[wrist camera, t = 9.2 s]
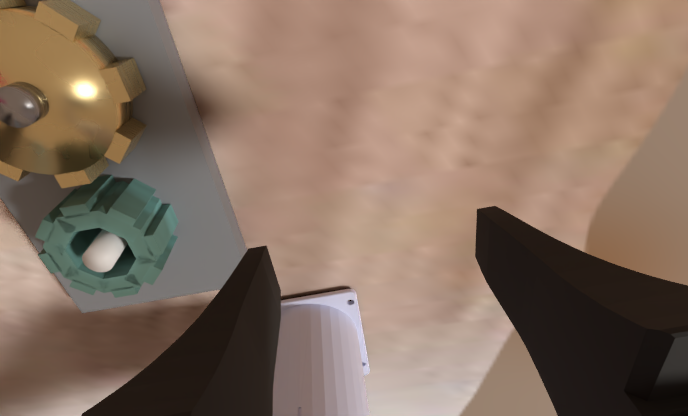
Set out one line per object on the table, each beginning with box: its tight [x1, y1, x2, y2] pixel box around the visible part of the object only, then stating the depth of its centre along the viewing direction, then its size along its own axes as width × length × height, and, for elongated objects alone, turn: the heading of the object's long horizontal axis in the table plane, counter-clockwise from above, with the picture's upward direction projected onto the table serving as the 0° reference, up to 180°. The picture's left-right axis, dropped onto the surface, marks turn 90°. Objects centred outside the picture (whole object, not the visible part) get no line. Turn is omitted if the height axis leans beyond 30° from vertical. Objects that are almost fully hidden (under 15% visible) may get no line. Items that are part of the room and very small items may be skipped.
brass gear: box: [0, 0, 147, 188], centre depth 17 cm, size 8×8×3 cm
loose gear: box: [35, 175, 179, 298], centre depth 21 cm, size 6×6×3 cm
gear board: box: [0, 0, 247, 313], centre depth 20 cm, size 18×11×5 cm, turn 9°
